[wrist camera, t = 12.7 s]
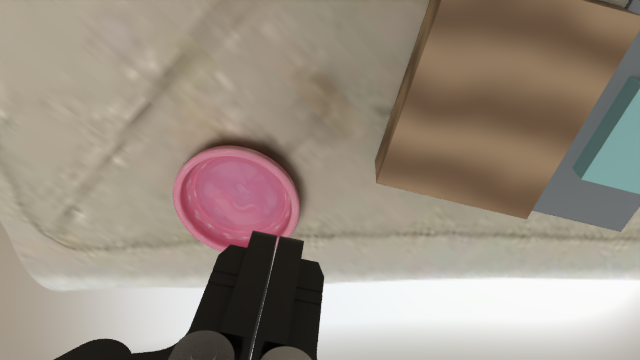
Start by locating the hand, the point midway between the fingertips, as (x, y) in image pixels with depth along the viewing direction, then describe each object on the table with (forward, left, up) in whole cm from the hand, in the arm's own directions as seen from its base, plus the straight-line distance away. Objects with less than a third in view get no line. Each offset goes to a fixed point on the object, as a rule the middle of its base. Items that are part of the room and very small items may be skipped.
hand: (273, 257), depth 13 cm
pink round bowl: (+18, -5, -29) cm, 35 cm away
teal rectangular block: (+2, +28, -26) cm, 38 cm away
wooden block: (+2, +14, -29) cm, 32 cm away
